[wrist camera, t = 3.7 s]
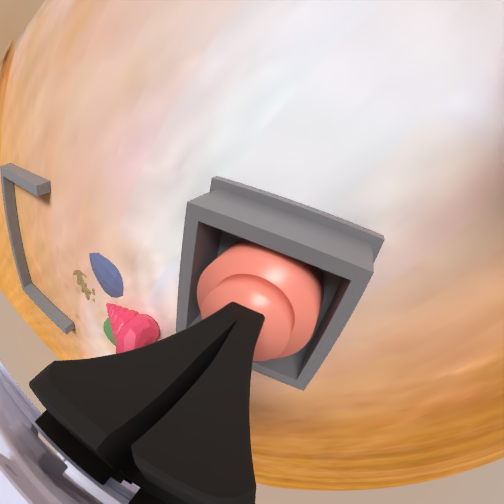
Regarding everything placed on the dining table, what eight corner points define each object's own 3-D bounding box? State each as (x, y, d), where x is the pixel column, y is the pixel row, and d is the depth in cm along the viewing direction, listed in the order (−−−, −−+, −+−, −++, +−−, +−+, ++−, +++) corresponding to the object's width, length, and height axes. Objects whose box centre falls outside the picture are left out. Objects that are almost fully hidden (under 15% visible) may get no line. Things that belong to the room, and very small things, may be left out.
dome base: (320, 357, 15) (308, 397, 12) (197, 304, 17) (169, 333, 14) (383, 235, 11) (388, 266, 8) (217, 176, 13) (180, 189, 10)
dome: (302, 343, 14) (284, 389, 11) (213, 304, 15) (181, 340, 12) (341, 260, 11) (332, 302, 8) (229, 217, 12) (190, 244, 10)
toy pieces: (135, 236, 17) (85, 264, 13) (188, 365, 21) (159, 403, 17) (61, 249, 22) (27, 268, 18) (105, 343, 26) (79, 367, 22)
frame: (75, 327, 27) (66, 334, 26) (30, 285, 30) (23, 289, 29) (49, 181, 18) (36, 185, 17) (10, 163, 21) (0, 166, 20)
